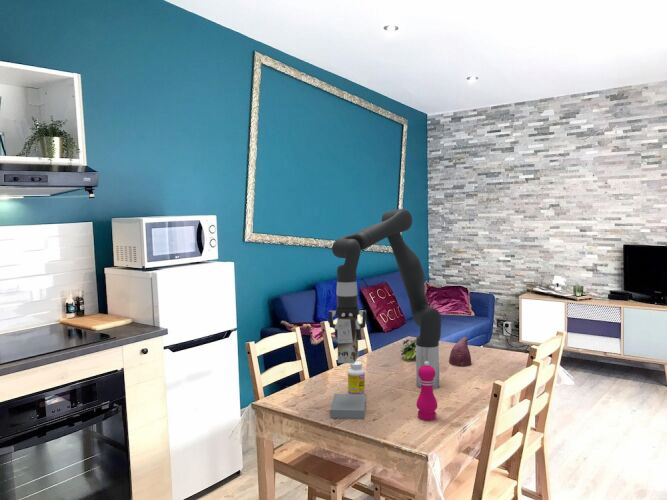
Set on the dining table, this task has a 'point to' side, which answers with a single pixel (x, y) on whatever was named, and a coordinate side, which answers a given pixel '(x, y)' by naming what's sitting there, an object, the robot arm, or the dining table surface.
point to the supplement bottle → (356, 379)
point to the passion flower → (409, 349)
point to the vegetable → (460, 354)
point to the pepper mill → (426, 393)
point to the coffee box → (347, 339)
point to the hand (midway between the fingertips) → (347, 338)
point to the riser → (348, 406)
